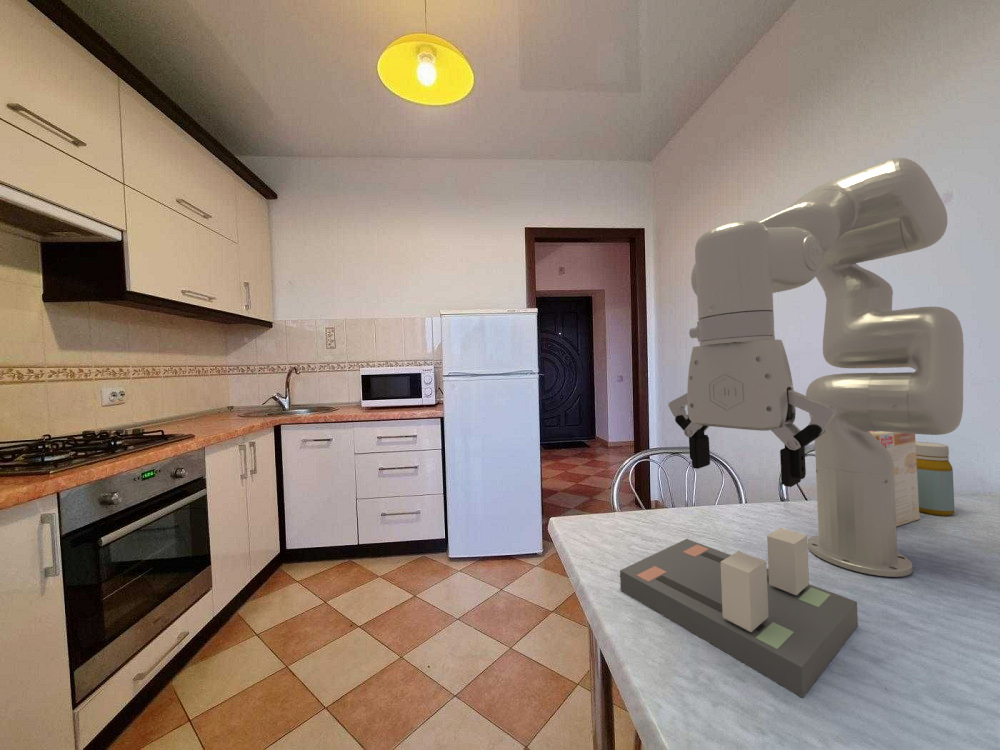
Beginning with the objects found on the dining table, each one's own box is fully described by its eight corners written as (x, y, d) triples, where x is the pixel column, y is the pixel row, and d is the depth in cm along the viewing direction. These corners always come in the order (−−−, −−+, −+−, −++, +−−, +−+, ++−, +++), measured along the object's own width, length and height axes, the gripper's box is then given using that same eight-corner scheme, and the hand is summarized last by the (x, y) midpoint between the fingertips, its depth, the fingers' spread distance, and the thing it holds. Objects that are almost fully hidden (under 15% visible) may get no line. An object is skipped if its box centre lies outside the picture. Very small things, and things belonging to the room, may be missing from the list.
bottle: (965, 517, 76) (962, 447, 76) (925, 516, 77) (922, 446, 77) (933, 505, 82) (930, 441, 83) (896, 504, 84) (894, 441, 84)
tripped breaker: (740, 603, 45) (738, 551, 45) (768, 617, 42) (766, 561, 42) (722, 617, 42) (720, 561, 42) (751, 632, 40) (748, 572, 40)
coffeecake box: (876, 508, 82) (873, 424, 82) (922, 519, 75) (917, 427, 75) (837, 519, 77) (833, 429, 77) (882, 532, 70) (877, 433, 70)
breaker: (782, 574, 51) (780, 527, 51) (809, 583, 48) (807, 535, 48) (769, 584, 48) (767, 535, 49) (796, 595, 46) (794, 544, 46)
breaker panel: (687, 555, 63) (686, 538, 63) (857, 625, 45) (856, 601, 45) (620, 590, 54) (619, 570, 54) (802, 697, 35) (801, 666, 35)
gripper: (651, 339, 48) (657, 466, 48) (816, 319, 33) (825, 501, 33) (682, 340, 52) (688, 457, 52) (842, 322, 37) (850, 485, 37)
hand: (742, 474), depth 43 cm, fingers open, 9 cm apart
